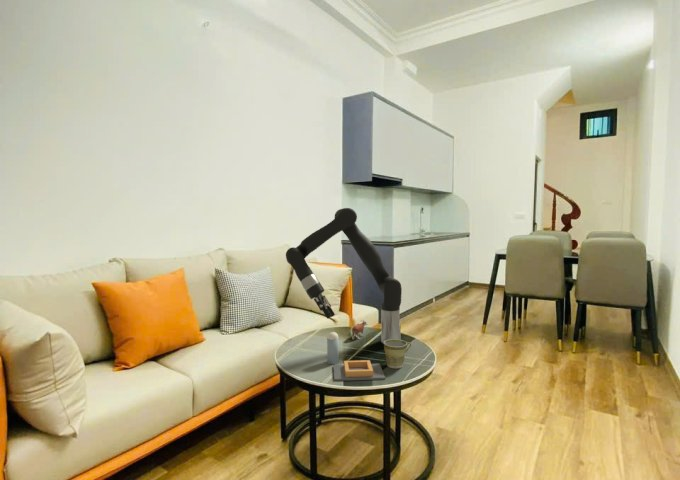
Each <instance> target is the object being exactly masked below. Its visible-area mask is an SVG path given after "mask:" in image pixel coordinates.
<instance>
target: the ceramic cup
mask: <svg viewBox="0 0 680 480" xmlns="http://www.w3.org/2000/svg"><path fill="white" fill-rule="evenodd" d="M408 344H409V347H408V348H407V346H408ZM411 346H412V344H411V342H410V341H405V340H403V339H401V340H399V339H389V340H386V341H384V344H383V348H384V349H383V350H384V355H385V360H386V361H385V362H386V367H389V368H391V369H401V368H403V366H404V364H405V363H404V362H405V357H406V356H405V355H406V353H407V352H408V351H409V349H411Z"/></svg>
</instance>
